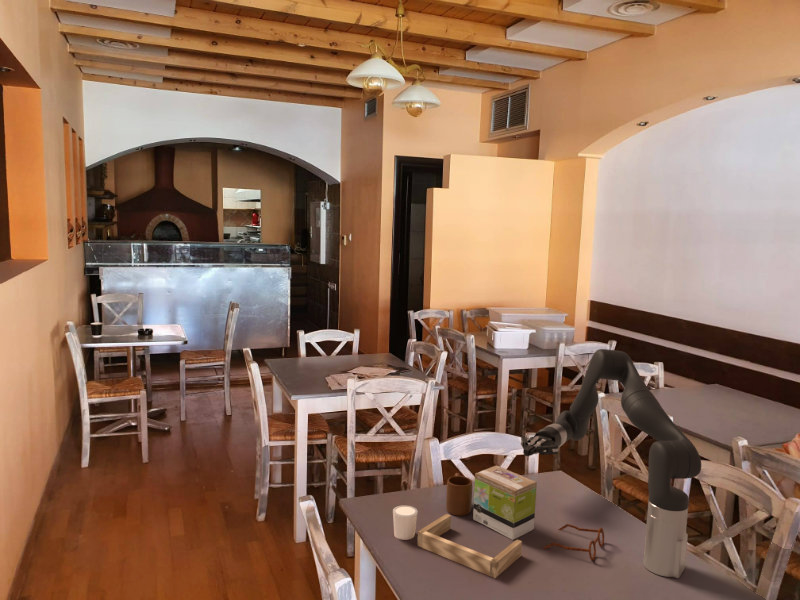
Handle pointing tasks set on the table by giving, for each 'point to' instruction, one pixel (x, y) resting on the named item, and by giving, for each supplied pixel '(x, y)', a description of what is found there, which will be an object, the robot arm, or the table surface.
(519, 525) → the tea box
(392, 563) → the table surface
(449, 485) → the mug
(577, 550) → the glasses
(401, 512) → the white cup
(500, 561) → the corral
